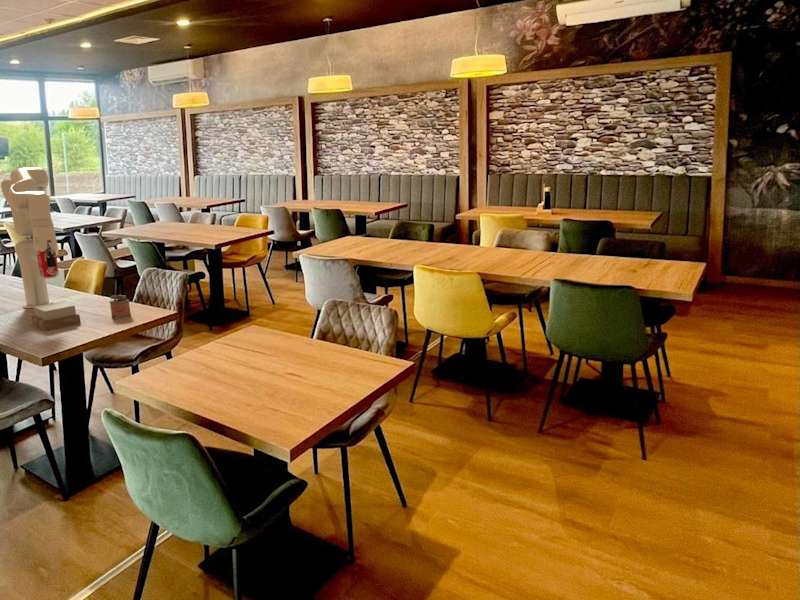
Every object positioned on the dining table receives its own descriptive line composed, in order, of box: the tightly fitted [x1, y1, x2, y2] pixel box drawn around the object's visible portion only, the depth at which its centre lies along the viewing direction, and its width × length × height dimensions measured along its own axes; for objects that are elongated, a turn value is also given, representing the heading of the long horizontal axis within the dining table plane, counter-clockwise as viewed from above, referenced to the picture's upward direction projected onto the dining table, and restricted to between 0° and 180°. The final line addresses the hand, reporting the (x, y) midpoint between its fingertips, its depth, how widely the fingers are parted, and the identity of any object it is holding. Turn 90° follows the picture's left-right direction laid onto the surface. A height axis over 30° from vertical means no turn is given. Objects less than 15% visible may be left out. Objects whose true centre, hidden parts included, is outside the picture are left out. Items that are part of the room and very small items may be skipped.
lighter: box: [109, 294, 132, 319], centre depth 280 cm, size 8×3×10 cm, turn 104°
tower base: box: [31, 313, 81, 332], centre depth 271 cm, size 14×14×4 cm
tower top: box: [32, 301, 76, 321], centre depth 270 cm, size 12×12×4 cm
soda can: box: [37, 249, 60, 279], centre depth 265 cm, size 7×7×12 cm
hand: (48, 265), depth 265 cm, fingers closed on soda can, 7 cm apart
